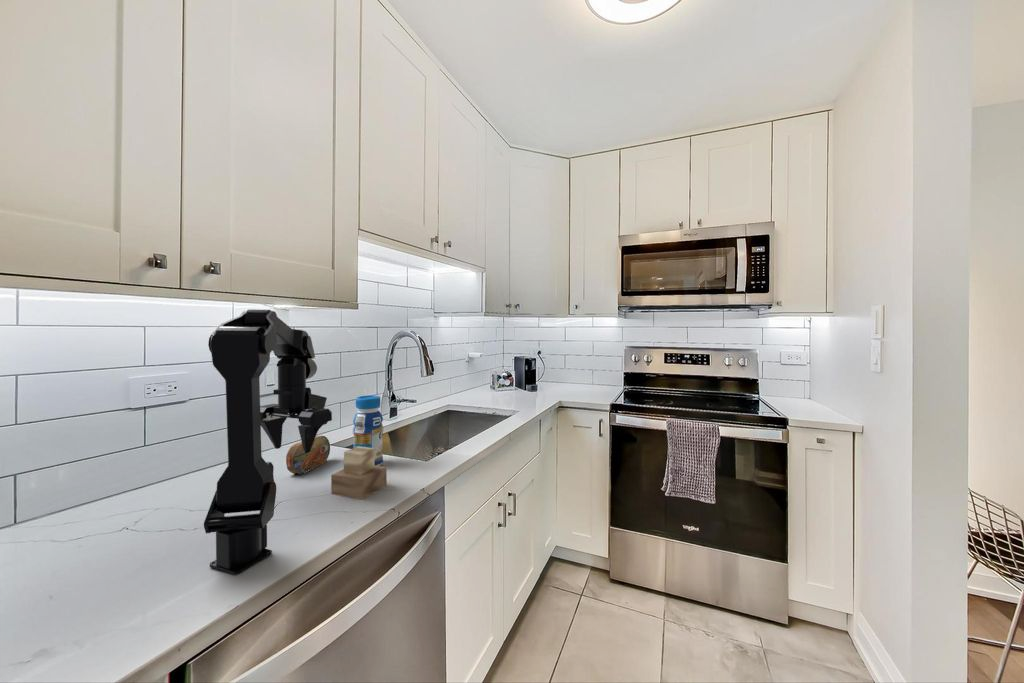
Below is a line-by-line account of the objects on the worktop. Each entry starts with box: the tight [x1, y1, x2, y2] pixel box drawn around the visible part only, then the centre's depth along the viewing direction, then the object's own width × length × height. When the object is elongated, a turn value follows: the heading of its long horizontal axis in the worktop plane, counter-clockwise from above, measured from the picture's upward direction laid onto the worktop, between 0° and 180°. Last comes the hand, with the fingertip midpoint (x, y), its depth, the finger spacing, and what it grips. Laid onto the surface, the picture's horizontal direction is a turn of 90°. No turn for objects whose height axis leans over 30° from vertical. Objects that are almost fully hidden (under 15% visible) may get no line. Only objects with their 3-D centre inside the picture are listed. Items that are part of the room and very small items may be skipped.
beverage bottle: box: [352, 394, 384, 466], centre depth 113 cm, size 8×8×20 cm
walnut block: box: [330, 465, 388, 500], centre depth 96 cm, size 9×9×5 cm
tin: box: [285, 435, 331, 475], centre depth 110 cm, size 15×3×8 cm, turn 168°
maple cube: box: [343, 446, 375, 475], centre depth 96 cm, size 5×5×5 cm
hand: (292, 450), depth 91 cm, fingers open, 9 cm apart
